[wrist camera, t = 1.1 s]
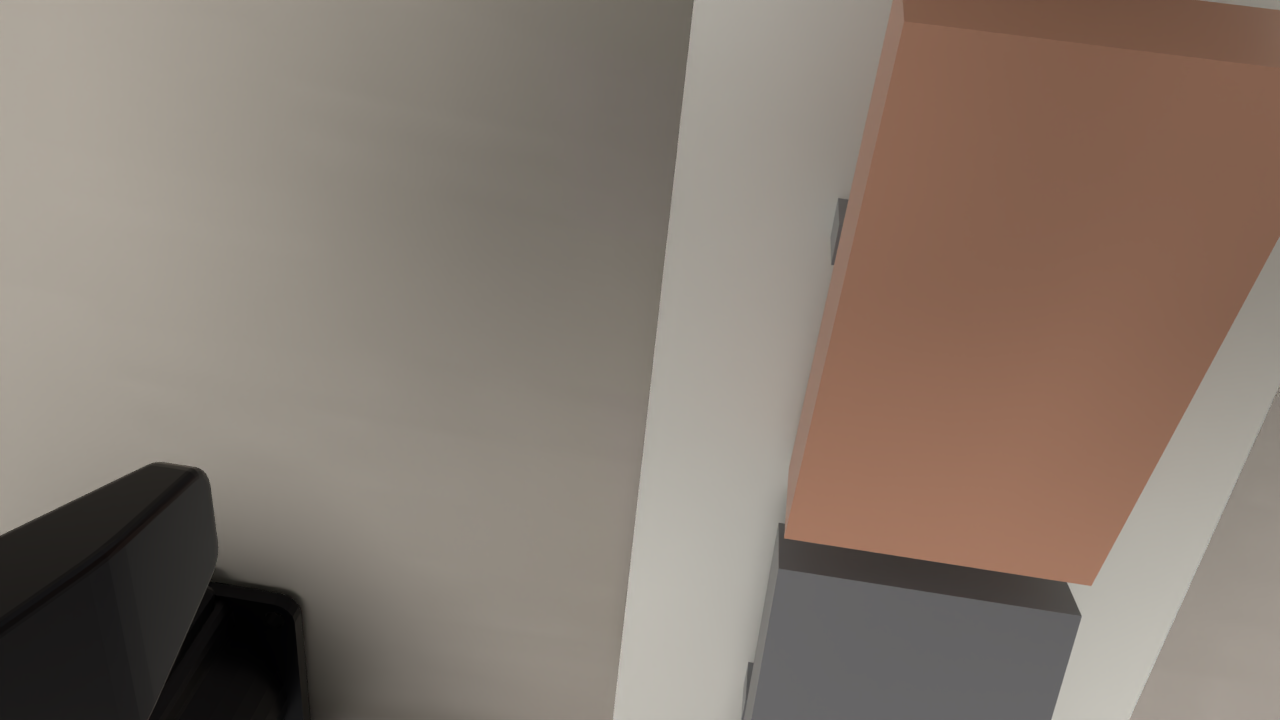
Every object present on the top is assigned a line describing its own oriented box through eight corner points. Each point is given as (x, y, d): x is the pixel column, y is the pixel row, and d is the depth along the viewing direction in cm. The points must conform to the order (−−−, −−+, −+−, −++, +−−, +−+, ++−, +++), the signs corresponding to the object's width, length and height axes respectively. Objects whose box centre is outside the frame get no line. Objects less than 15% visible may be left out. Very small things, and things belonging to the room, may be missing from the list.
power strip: (965, 848, 30) (995, 1086, 25) (617, 788, 30) (577, 1009, 25) (1673, -1040, 13) (2240, -1520, 8) (844, -1092, 13) (861, -1566, 8)
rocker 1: (1077, 512, 17) (1091, 585, 16) (788, 468, 18) (783, 538, 17) (1321, 14, 12) (1364, 79, 11) (900, -36, 12) (904, 21, 11)
